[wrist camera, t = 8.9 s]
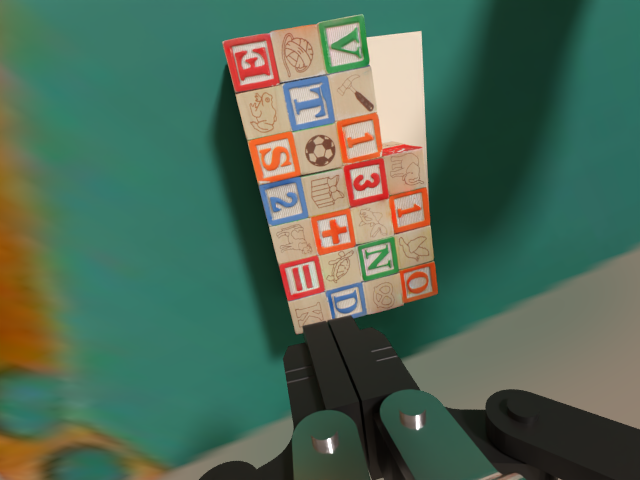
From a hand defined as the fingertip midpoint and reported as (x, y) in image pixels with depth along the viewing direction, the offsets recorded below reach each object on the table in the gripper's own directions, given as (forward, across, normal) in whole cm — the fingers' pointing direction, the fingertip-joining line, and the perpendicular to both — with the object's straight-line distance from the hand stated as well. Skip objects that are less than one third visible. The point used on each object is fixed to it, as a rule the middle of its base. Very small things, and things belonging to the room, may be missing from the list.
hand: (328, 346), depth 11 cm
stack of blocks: (+20, +1, -1) cm, 20 cm away
